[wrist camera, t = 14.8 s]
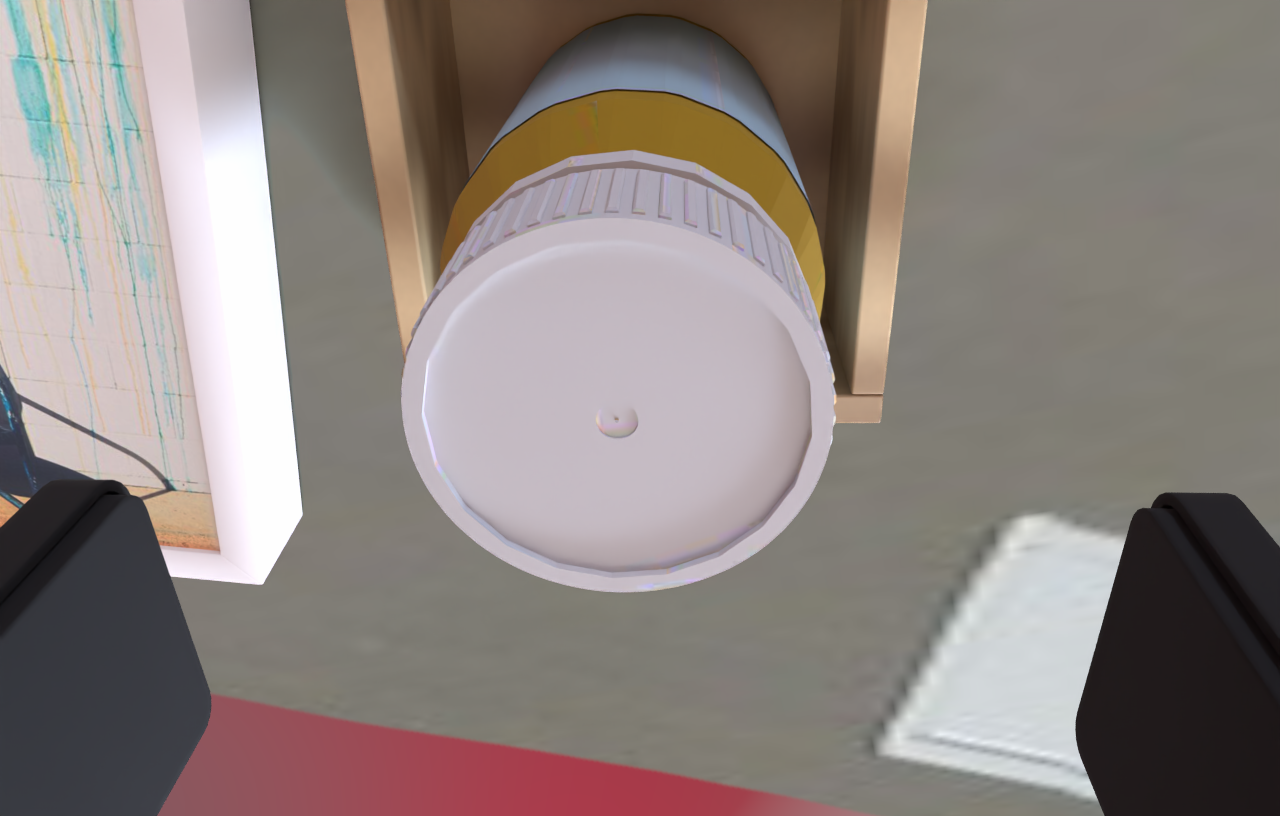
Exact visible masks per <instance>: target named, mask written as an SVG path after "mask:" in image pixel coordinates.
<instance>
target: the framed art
mask: <svg viewBox="0 0 1280 816" xmlns="http://www.w3.org/2000/svg"><path fill="white" fill-rule="evenodd" d="M58 479H93V480H115V481H118V482H121V483H122V484H123V485H124V486H125V487H126V488H127V489H128V491H129V493H130V495H135V496H138V497H139V498H140V499H141V500H143V502H144V504H145V506H146V508H147V510H148V513H149V516H150V519H151V522H152V525H153V527H154V530H155V533H156V536H157V539H158V542H159V545H160V548H161V551H162V554H163V556H164V559H165V562H166V565H167V568H168V571H169V574H170V576H174V577H185V578H195V579H206V580H216V581H227V582H237V583H248V584H258V585H261V584H263V583H264V581H265V579H266V577H267V576H268V574H269V572H270V571H271V569H272V567H273V565H274V564H275V562H276V560H277V558H278V557H279V555H280V553H281V551H282V550H283V548H284V546H285V545H286V543H287V541H288V539H289V538H290V536H291V534H292V532H293V531H294V529H295V527H296V526H297V524H298V522H299V520H300V519H301V517H302V515H303V513H302V503H301V494H300V484H299V474H298V465H297V455H296V446H295V436H294V426H293V417H292V407H291V398H290V388H289V378H288V369H287V359H286V350H285V340H284V330H283V321H282V311H281V302H280V292H279V282H278V273H277V263H276V254H275V244H274V234H273V225H272V215H271V206H270V196H269V186H268V177H267V167H266V158H265V148H264V138H263V129H262V119H261V110H260V100H259V90H258V81H257V71H256V62H255V52H254V42H253V33H252V23H251V14H250V4H249V0H0V527H1V526H2V525H3V524H4V523H5V522H7V521H8V520H9V519H10V518H11V517H12V516H13V515H14V514H15V513H16V512H17V511H18V510H19V509H20V508H21V507H22V506H23V505H24V504H25V503H26V502H27V501H28V500H29V499H30V498H31V497H32V496H33V495H34V494H35V493H37V492H38V491H39V490H40V489H41V488H42V487H43V486H44V485H46V484H47V483H49V482H50V481H53V480H58Z"/></svg>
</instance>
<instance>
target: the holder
mask: <svg viewBox="0 0 1280 816" xmlns="http://www.w3.org/2000/svg"><path fill="white" fill-rule="evenodd" d="M345 3H346V9H347V15H348V21H349V27H350V33H351V40H352V46H353V52H354V58H355V64H356V70H357V76H358V82H359V88H360V95H361V101H362V107H363V113H364V119H365V125H366V131H367V137H368V143H369V149H370V156H371V162H372V168H373V174H374V180H375V186H376V192H377V198H378V204H379V211H380V217H381V223H382V229H383V235H384V241H385V247H386V253H387V259H388V266H389V272H390V278H391V284H392V290H393V296H394V302H395V308H396V314H397V321H398V327H399V333H400V339H401V345H402V351H403V357H404V363H406V359H407V358H406V357H405V352H406V348H407V346H408V344H409V342H410V341H411V339H412V337H411V332H412V329H413V327H414V325H415V323H416V322H417V320H418V318H419V316H420V312H421V310H422V308H423V306H424V305H425V303H426V301H427V299H428V298H429V296H430V294H431V292H432V291H433V289H434V287H435V285H436V284H437V282H438V280H439V278H440V277H441V271H440V261H441V251H442V246H443V243H444V239H445V236H446V232H447V229H448V225H449V222H450V218H451V215H452V211H453V208H454V206H455V204H456V202H457V200H458V198H459V196H460V194H461V191H462V189H463V187H464V185H465V183H466V182H467V180H468V179H469V177H470V176H471V174H472V173H473V171H474V170H475V168H476V167H477V165H478V163H479V162H480V160H481V159H482V157H483V156H484V154H485V153H486V151H487V150H488V148H489V147H490V145H491V144H492V142H493V141H494V139H495V138H496V136H497V134H498V133H499V131H500V130H501V128H502V127H503V125H504V124H505V122H506V121H507V119H508V118H509V116H510V115H511V113H512V112H513V110H514V109H515V107H516V106H517V104H518V102H519V101H520V99H521V98H522V96H523V95H524V93H525V92H526V90H527V89H528V87H529V86H530V84H531V83H532V81H533V80H534V79H535V77H536V76H537V74H538V73H539V72H540V70H541V69H542V67H543V66H544V65H545V63H546V62H547V60H548V59H549V58H550V57H551V56H552V55H553V54H554V53H555V52H556V51H557V50H558V49H559V48H560V47H561V46H562V45H564V44H565V43H567V42H568V41H569V40H571V39H572V38H574V37H575V36H576V35H578V34H579V33H581V32H582V31H583V30H585V29H586V28H588V27H590V26H593V25H595V24H597V23H600V22H604V21H607V20H610V19H614V18H617V17H621V16H624V15H629V14H637V13H641V14H661V15H673V16H677V17H682V18H684V19H686V20H689V21H691V22H694V23H696V24H699V25H701V26H704V27H706V28H709V29H711V30H713V31H714V32H716V33H718V34H719V35H721V36H722V37H723V38H724V39H725V40H727V41H728V42H729V43H730V44H731V45H732V46H734V47H735V48H736V49H737V50H738V51H739V52H740V53H742V54H743V55H744V56H745V57H746V58H747V60H748V61H749V62H750V63H751V64H752V66H753V68H754V69H755V70H756V72H757V74H758V76H759V77H760V79H761V81H762V83H763V84H764V86H765V88H766V89H767V91H768V93H769V95H770V96H771V99H772V101H773V104H774V107H775V109H776V112H777V115H778V118H779V120H780V123H781V126H782V129H783V131H784V134H785V137H786V140H787V142H788V145H789V148H790V151H791V154H792V156H793V159H794V162H795V165H796V167H797V170H798V173H799V176H800V178H801V181H802V184H803V187H804V189H805V192H806V195H807V198H808V200H809V203H810V206H811V209H812V211H813V214H814V218H815V223H816V228H817V233H818V238H819V243H820V248H821V253H822V258H823V263H824V268H825V289H824V296H823V303H822V310H821V317H820V324H821V328H822V331H823V334H824V338H825V341H826V345H827V348H828V352H829V355H830V362H831V365H832V369H833V372H834V377H835V381H834V383H833V385H834V389H835V392H836V401H837V402H836V403H835V405H834V412H835V415H836V421H835V423H879V422H880V421H881V414H882V405H883V392H884V386H885V377H886V368H887V359H888V350H889V341H890V332H891V324H892V315H893V306H894V297H895V288H896V279H897V270H898V261H899V252H900V243H901V234H902V226H903V217H904V208H905V199H906V190H907V181H908V172H909V163H910V154H911V145H912V136H913V128H914V119H915V110H916V101H917V92H918V83H919V74H920V65H921V56H922V47H923V38H924V30H925V21H926V12H927V3H928V0H345Z"/></svg>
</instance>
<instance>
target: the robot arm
mask: <svg viewBox="0 0 1280 816" xmlns="http://www.w3.org/2000/svg"><path fill="white" fill-rule="evenodd" d="M210 712H211V695H210V690H209V687H208V684H207V681H206V678H205V676H204V673H203V670H202V667H201V664H200V661H199V658H198V655H197V652H196V649H195V646H194V644H193V641H192V638H191V635H190V632H189V629H188V626H187V623H186V620H185V617H184V615H183V612H182V609H181V606H180V603H179V600H178V597H177V594H176V591H175V588H174V585H173V583H172V580H171V577H170V574H169V571H168V568H167V565H166V562H165V559H164V556H163V554H162V551H161V548H160V545H159V542H158V539H157V536H156V533H155V530H154V527H153V525H152V522H151V519H150V516H149V513H148V510H147V508H146V506H145V504H144V502H143V500H141V499H140V498H139V497H138V496H135V495H130V493H129V491H128V489H127V488H126V487H125V486H124V485H123V484H122V483H121V482H118V481H115V480H93V479H58V480H53V481H50V482H49V483H47V484H46V485H44V486H43V487H42V488H41V489H40V490H39V491H38V492H37V493H35V494H34V495H33V496H32V497H31V498H30V499H29V500H28V501H27V502H26V503H25V504H24V505H23V506H22V507H21V508H20V509H19V510H18V511H17V512H16V513H15V514H14V515H13V516H12V517H11V518H10V519H9V520H8V521H7V522H5V523H4V524H3V525H2V526H1V527H0V816H157V815H158V813H159V811H160V809H161V808H162V806H163V804H164V802H165V800H166V799H167V797H168V795H169V793H170V792H171V790H172V788H173V786H174V785H175V783H176V781H177V779H178V777H179V776H180V774H181V772H182V771H183V769H184V767H185V765H186V764H187V762H188V760H189V758H190V756H191V755H192V753H193V751H194V749H195V748H196V746H197V744H198V742H199V740H200V739H201V737H202V735H203V733H204V731H205V729H206V727H207V725H208V721H209V718H210ZM1075 730H1076V741H1077V746H1078V750H1079V754H1080V757H1081V759H1082V762H1083V764H1084V767H1085V769H1086V772H1087V774H1088V776H1089V779H1090V781H1091V784H1092V786H1093V789H1094V791H1095V794H1096V796H1097V798H1098V801H1099V803H1100V806H1101V808H1102V811H1103V813H1104V815H1105V816H1280V547H1279V546H1278V545H1277V543H1276V542H1275V541H1274V540H1273V538H1272V537H1271V536H1270V535H1269V534H1268V532H1267V531H1266V530H1265V529H1264V527H1263V526H1262V525H1261V524H1260V523H1259V521H1258V520H1257V519H1256V518H1255V516H1254V515H1253V514H1252V513H1251V512H1250V510H1249V509H1248V508H1247V507H1246V505H1245V504H1244V503H1243V502H1242V501H1241V500H1240V499H1239V498H1238V497H1236V496H1235V495H1232V494H1228V493H1163V494H1161V495H1159V496H1158V497H1157V498H1156V500H1155V501H1154V502H1153V504H1152V507H1151V508H1142V509H1139V510H1137V512H1136V513H1135V514H1134V516H1133V518H1132V520H1131V523H1130V527H1129V530H1128V534H1127V537H1126V541H1125V545H1124V548H1123V552H1122V555H1121V559H1120V562H1119V566H1118V569H1117V573H1116V577H1115V580H1114V584H1113V587H1112V591H1111V594H1110V598H1109V601H1108V605H1107V609H1106V612H1105V616H1104V619H1103V623H1102V626H1101V630H1100V633H1099V637H1098V641H1097V644H1096V648H1095V651H1094V655H1093V658H1092V662H1091V666H1090V669H1089V673H1088V676H1087V680H1086V683H1085V687H1084V690H1083V694H1082V698H1081V701H1080V705H1079V708H1078V712H1077V717H1076V729H1075Z"/></svg>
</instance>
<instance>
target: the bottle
mask: <svg viewBox="0 0 1280 816" xmlns="http://www.w3.org/2000/svg"><path fill="white" fill-rule="evenodd" d="M440 271H441V277H440V278H439V280H438V282H437V284H436V285H435V287H434V289H433V291H432V292H431V294H430V296H429V298H428V299H427V301H426V303H425V305H424V306H423V308H422V310H421V312H420V316H419V318H418V320H417V322H416V323H415V325H414V327H413V329H412V332H411V337H412V339H411V341H410V342H409V344H408V346H407V348H406V352H405V357H406V358H407V359H406V363H405V365H404V367H403V369H402V378H403V382H402V389H401V398H402V416H403V424H404V430H405V434H406V439H407V442H408V446H409V449H410V452H411V455H412V458H413V460H414V463H415V465H416V468H417V470H418V472H419V474H420V476H421V478H422V480H423V481H424V483H425V485H426V487H427V488H428V490H429V491H430V493H431V495H432V496H433V497H434V499H435V500H436V502H437V503H438V504H439V506H440V507H441V508H442V509H443V511H444V512H445V513H446V514H447V515H448V516H449V518H450V519H451V520H452V521H453V522H454V523H455V524H456V525H457V526H458V527H459V528H460V529H461V530H462V531H463V532H465V533H466V534H467V535H468V536H469V537H470V538H472V539H473V540H474V541H475V542H476V543H478V544H479V545H480V546H482V547H483V548H485V549H486V550H488V551H489V552H490V553H492V554H494V555H495V556H497V557H498V558H500V559H502V560H504V561H505V562H507V563H509V564H511V565H513V566H515V567H517V568H519V569H521V570H523V571H526V572H528V573H530V574H533V575H535V576H538V577H541V578H544V579H547V580H550V581H553V582H556V583H560V584H564V585H568V586H572V587H577V588H582V589H589V590H597V591H607V592H642V591H653V590H661V589H667V588H672V587H677V586H682V585H686V584H689V583H693V582H696V581H699V580H702V579H705V578H708V577H711V576H713V575H716V574H718V573H720V572H723V571H725V570H727V569H729V568H731V567H733V566H735V565H737V564H739V563H740V562H742V561H744V560H745V559H747V558H749V557H750V556H752V555H753V554H755V553H756V552H758V551H759V550H760V549H762V548H763V547H764V546H766V545H767V544H768V543H769V542H771V541H772V540H773V539H774V538H775V537H776V536H777V535H779V534H780V533H781V532H782V531H783V530H784V529H785V528H786V527H787V526H788V524H789V523H790V522H791V521H792V520H793V519H794V518H795V516H796V515H797V514H798V513H799V511H800V510H801V509H802V507H803V506H804V504H805V503H806V501H807V500H808V498H809V497H810V495H811V493H812V492H813V490H814V488H815V486H816V484H817V482H818V480H819V477H820V475H821V473H822V470H823V468H824V465H825V462H826V459H827V455H828V452H829V448H830V445H831V443H832V439H833V437H832V430H833V425H834V424H835V421H836V415H835V412H834V405H835V403H836V402H837V401H836V392H835V389H834V385H833V383H834V381H835V377H834V372H833V369H832V365H831V362H830V355H829V352H828V348H827V345H826V341H825V338H824V334H823V331H822V328H821V324H820V317H821V310H822V303H823V296H824V289H825V268H824V263H823V258H822V253H821V248H820V243H819V238H818V233H817V228H816V223H815V218H814V214H813V211H812V209H811V206H810V203H809V200H808V198H807V195H806V192H805V189H804V187H803V184H802V181H801V178H800V176H799V173H798V170H797V167H796V165H795V162H794V159H793V156H792V154H791V151H790V148H789V145H788V142H787V140H786V137H785V134H784V131H783V129H782V126H781V123H780V120H779V118H778V115H777V112H776V109H775V107H774V104H773V101H772V99H771V96H770V95H769V93H768V91H767V89H766V88H765V86H764V84H763V83H762V81H761V79H760V77H759V76H758V74H757V72H756V70H755V69H754V68H753V66H752V64H751V63H750V62H749V61H748V60H747V58H746V57H745V56H744V55H743V54H742V53H740V52H739V51H738V50H737V49H736V48H735V47H734V46H732V45H731V44H730V43H729V42H728V41H727V40H725V39H724V38H723V37H722V36H721V35H719V34H718V33H716V32H714V31H713V30H711V29H709V28H706V27H704V26H701V25H699V24H696V23H694V22H691V21H689V20H686V19H684V18H682V17H677V16H673V15H661V14H641V13H637V14H629V15H624V16H621V17H617V18H614V19H610V20H607V21H604V22H600V23H597V24H595V25H593V26H590V27H588V28H586V29H585V30H583V31H582V32H581V33H579V34H578V35H576V36H575V37H574V38H572V39H571V40H569V41H568V42H567V43H565V44H564V45H562V46H561V47H560V48H559V49H558V50H557V51H556V52H555V53H554V54H553V55H552V56H551V57H550V58H549V59H548V60H547V62H546V63H545V65H544V66H543V67H542V69H541V70H540V72H539V73H538V74H537V76H536V77H535V79H534V80H533V81H532V83H531V84H530V86H529V87H528V89H527V90H526V92H525V93H524V95H523V96H522V98H521V99H520V101H519V102H518V104H517V106H516V107H515V109H514V110H513V112H512V113H511V115H510V116H509V118H508V119H507V121H506V122H505V124H504V125H503V127H502V128H501V130H500V131H499V133H498V134H497V136H496V138H495V139H494V141H493V142H492V144H491V145H490V147H489V148H488V150H487V151H486V153H485V154H484V156H483V157H482V159H481V160H480V162H479V163H478V165H477V167H476V168H475V170H474V171H473V173H472V174H471V176H470V177H469V179H468V180H467V182H466V183H465V185H464V187H463V189H462V191H461V194H460V196H459V198H458V200H457V202H456V204H455V206H454V208H453V211H452V215H451V218H450V222H449V225H448V229H447V232H446V236H445V239H444V243H443V246H442V251H441V261H440Z"/></svg>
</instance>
